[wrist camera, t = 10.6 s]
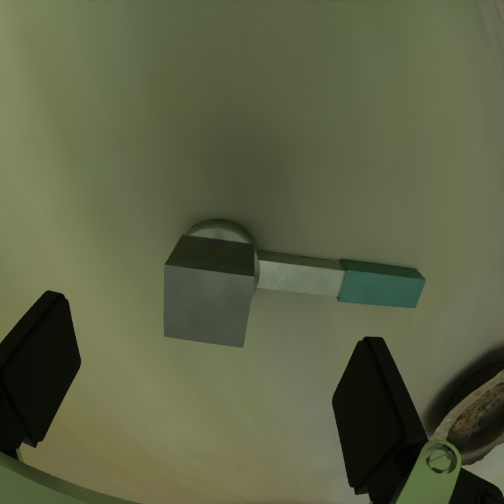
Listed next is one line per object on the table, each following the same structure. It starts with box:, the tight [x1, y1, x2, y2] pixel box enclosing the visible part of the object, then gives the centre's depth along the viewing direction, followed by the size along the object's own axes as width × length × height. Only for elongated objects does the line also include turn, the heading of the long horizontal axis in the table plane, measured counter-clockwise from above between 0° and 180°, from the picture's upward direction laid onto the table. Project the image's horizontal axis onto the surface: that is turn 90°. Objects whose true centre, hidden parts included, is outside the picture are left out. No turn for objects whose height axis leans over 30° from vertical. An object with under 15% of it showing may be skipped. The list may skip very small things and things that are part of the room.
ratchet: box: [185, 220, 426, 308], centre depth 28 cm, size 8×25×7 cm, turn 82°
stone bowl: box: [430, 361, 504, 466], centre depth 37 cm, size 25×25×9 cm
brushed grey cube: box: [164, 235, 255, 347], centre depth 26 cm, size 6×6×6 cm
